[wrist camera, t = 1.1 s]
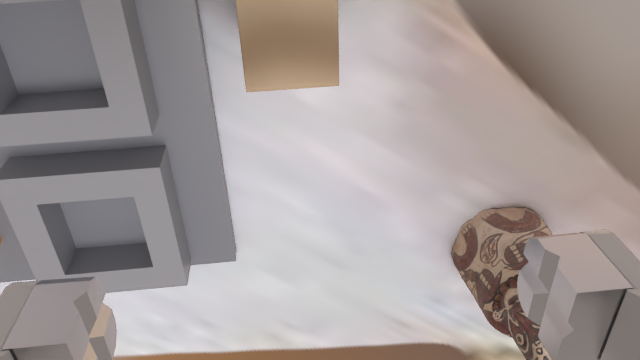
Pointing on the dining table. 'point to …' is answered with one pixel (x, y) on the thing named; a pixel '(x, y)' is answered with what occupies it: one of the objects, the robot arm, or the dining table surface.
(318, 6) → the wood plug
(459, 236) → the figurine
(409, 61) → the dining table surface
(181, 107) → the socket board
